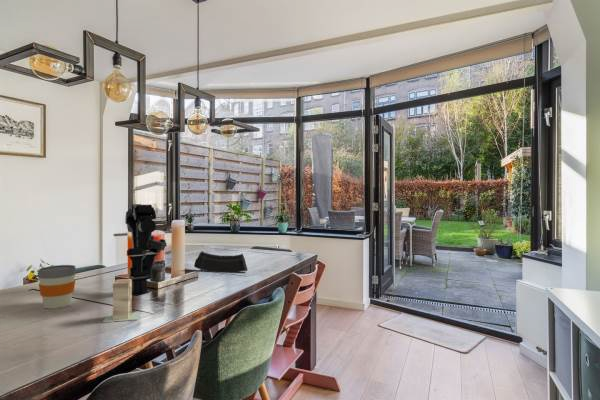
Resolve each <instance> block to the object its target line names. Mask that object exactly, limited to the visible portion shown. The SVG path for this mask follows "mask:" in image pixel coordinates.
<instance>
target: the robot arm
mask: <svg viewBox="0 0 600 400" xmlns="http://www.w3.org/2000/svg"><path fill="white" fill-rule="evenodd" d="M124 218H125V222H124V223H125V225H126V227H127V230H128V231H129V232H130V233H131V242H132V244H131V245H132V247H131V248H128V249H127V250H126V256H128V259H130V260H131V265H130V267H129V271H128V279H132V295H135V296H140V295H143V294H147V293H150V292H151V291H150V290H148V280H151V278H152V271H153V269H152V268H153V265H154V261H155V259H156V257H157V256H158V255H160V253H161V251H165V248H166V247H167V246H168V245H167V241H166V239H164V238H160V239H159V240H157V239H155V237H154V235H152V233H154V231H155V230H156V228H157V223H156V222H155V221H154V220H156V219H157V214H156V209H155V207H153V205H152V204H142V203H141V204H140V203H139V204H138V203H133V204H131V205H130V208H129V209H128V210H127V211H126V212H125V217H124Z"/></svg>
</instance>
